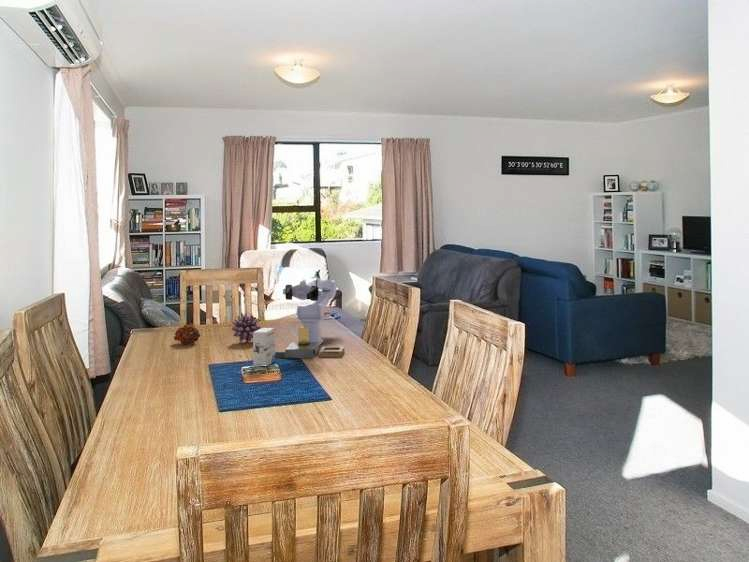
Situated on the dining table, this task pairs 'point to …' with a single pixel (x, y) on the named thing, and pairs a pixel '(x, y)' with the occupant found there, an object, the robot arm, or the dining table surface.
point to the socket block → (301, 350)
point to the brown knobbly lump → (187, 334)
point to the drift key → (279, 353)
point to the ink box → (263, 346)
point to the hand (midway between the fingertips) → (297, 295)
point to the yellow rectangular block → (303, 335)
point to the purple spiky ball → (245, 327)
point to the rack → (331, 352)
